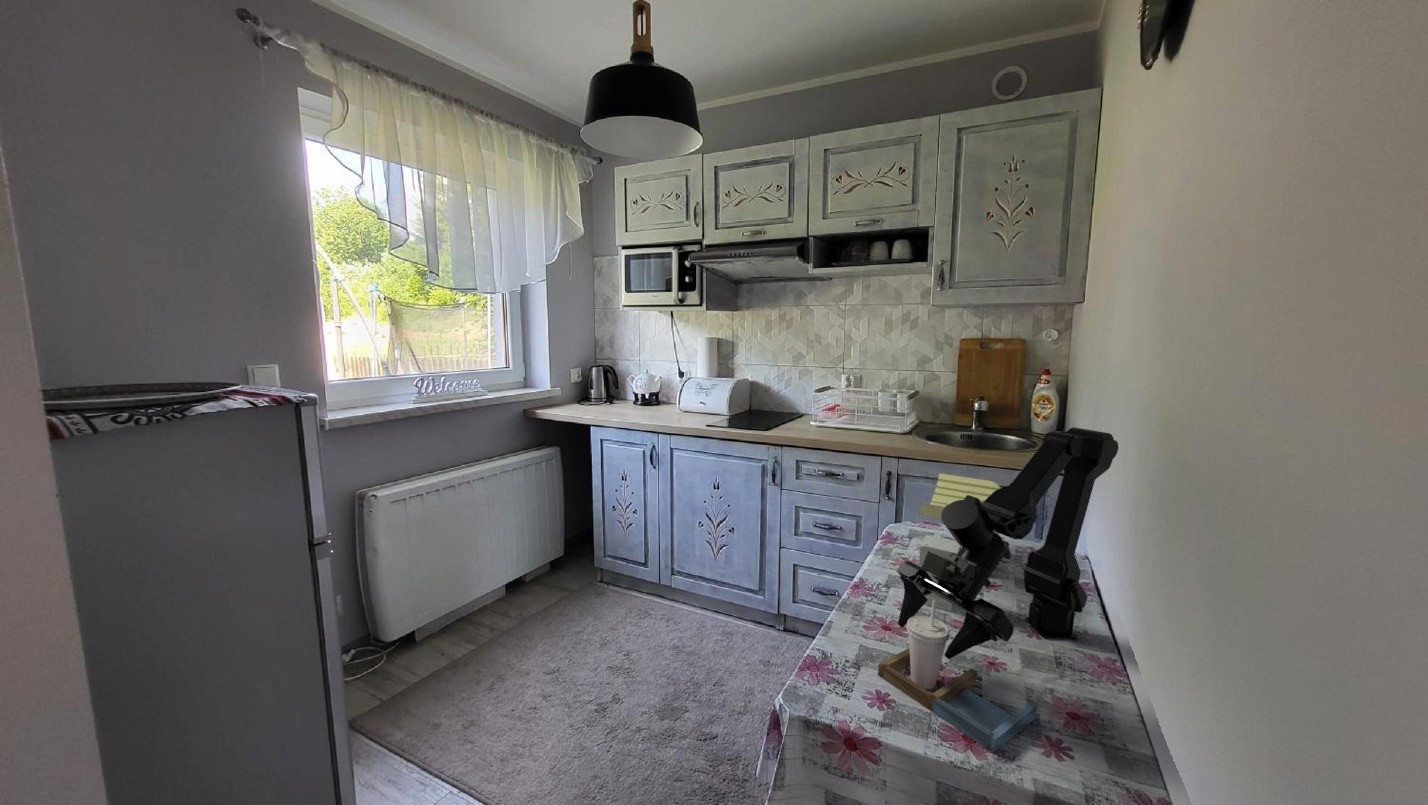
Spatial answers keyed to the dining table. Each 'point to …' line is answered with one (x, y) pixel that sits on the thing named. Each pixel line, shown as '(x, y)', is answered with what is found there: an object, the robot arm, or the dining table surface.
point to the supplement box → (942, 549)
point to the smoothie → (926, 647)
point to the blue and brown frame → (961, 705)
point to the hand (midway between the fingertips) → (921, 640)
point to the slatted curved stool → (956, 493)
